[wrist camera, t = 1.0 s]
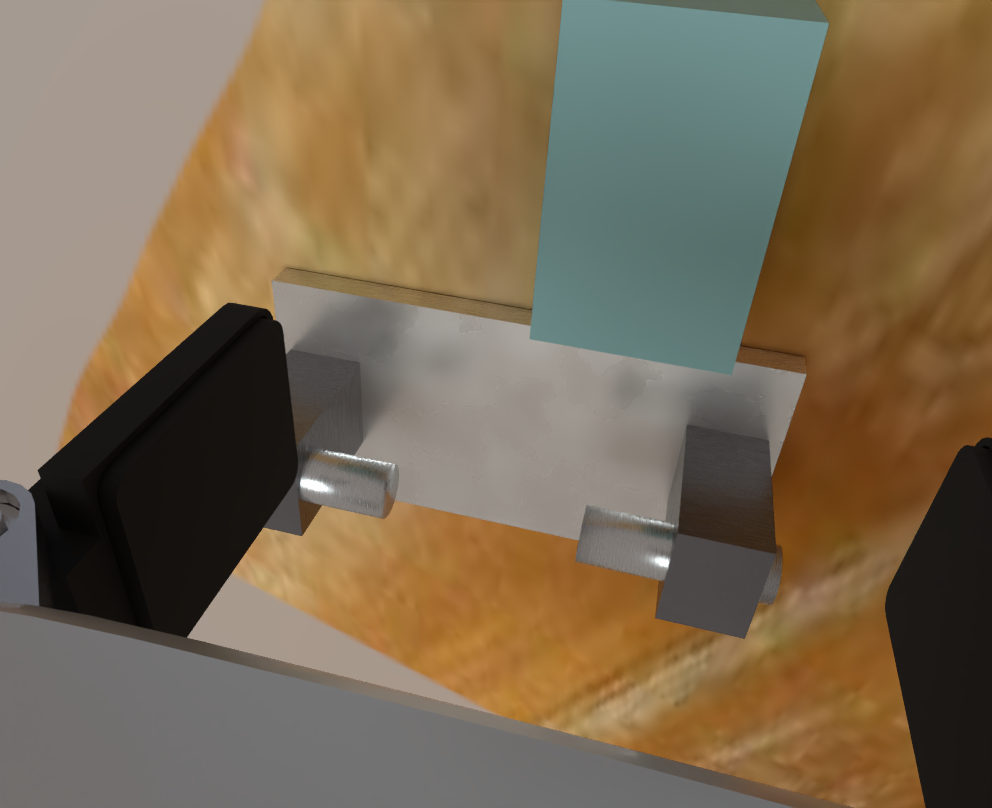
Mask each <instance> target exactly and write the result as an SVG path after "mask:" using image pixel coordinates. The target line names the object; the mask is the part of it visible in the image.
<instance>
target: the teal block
mask: <svg viewBox="0 0 992 808" xmlns="http://www.w3.org/2000/svg"><path fill="white" fill-rule="evenodd" d="M828 26H829V22H828V20H827V19H826V17H825V16H824V14H823V12H822V11H821V9H820V7H819V6H818V4H817V3H816V1H815V0H563V3H562V13H561V23H560V33H559V44H558V54H557V64H556V74H555V84H554V94H553V105H552V115H551V125H550V135H549V145H548V156H547V166H546V176H545V186H544V196H543V206H542V217H541V227H540V237H539V247H538V257H537V267H536V278H535V288H534V298H533V308H532V318H531V329H530V339H531V340H537V341H543V342H548V343H554V344H559V345H565V346H571V347H576V348H582V349H587V350H593V351H599V352H604V353H610V354H616V355H621V356H627V357H632V358H638V359H644V360H649V361H655V362H660V363H666V364H672V365H677V366H683V367H688V368H694V369H700V370H705V371H711V372H717V373H722V374H728V375H732V372H733V369H734V365H735V361H736V358H737V354H738V351H739V347H740V343H741V340H742V336H743V333H744V329H745V325H746V322H747V318H748V314H749V311H750V307H751V304H752V300H753V296H754V293H755V289H756V286H757V282H758V278H759V275H760V271H761V268H762V264H763V260H764V257H765V253H766V249H767V246H768V242H769V239H770V235H771V231H772V228H773V224H774V221H775V217H776V213H777V210H778V206H779V203H780V199H781V195H782V192H783V188H784V185H785V181H786V177H787V174H788V170H789V166H790V163H791V159H792V156H793V152H794V148H795V145H796V141H797V138H798V134H799V130H800V127H801V123H802V120H803V116H804V112H805V109H806V105H807V101H808V98H809V94H810V91H811V87H812V83H813V80H814V76H815V73H816V69H817V65H818V62H819V58H820V55H821V51H822V47H823V44H824V40H825V37H826V33H827V29H828Z"/></svg>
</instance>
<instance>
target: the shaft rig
mask: <svg viewBox="0 0 992 808" xmlns="http://www.w3.org/2000/svg"><path fill="white" fill-rule="evenodd" d="M272 287H273V296H274V304H275V313H276V321H278V322H280V323H281V325H282V328H283V333H284V342H285V350H286V359H287V368H288V377H289V386H290V395H291V403H292V412H293V421H294V430H295V439H296V448H297V456H298V471H297V475H296V479H295V481H294V483H293V485H292V487H291V488H290V490H289V491H288V493H287V494H286V496H285V497H284V499H283V500H282V501H281V503H280V504H279V506H278V507H277V509H276V510H275V511H274V513H273V514H272V516H271V517H270V519H269V520H268V522H267V523H266V524H265V526H264V527H265V528H269V529H273V530H278V531H282V532H286V533H291V534H295V535H299V536H303V534H304V533H305V531H306V529H307V528H308V526H309V525H310V523H311V522H312V520H313V519H314V517H315V516H316V514H317V512H318V511H319V509H320V508H321V506H322V505H323V506H328V507H332V508H337V509H341V510H346V511H350V512H355V513H359V514H364V515H368V516H373V517H377V518H382V519H385V518H386V517H387V516H388V515H389V513H390V511H391V509H392V507H393V504H394V501H395V500H396V501H401V502H406V503H410V504H415V505H419V506H424V507H428V508H433V509H438V510H442V511H447V512H451V513H456V514H460V515H465V516H469V517H474V518H479V519H483V520H488V521H492V522H497V523H501V524H506V525H511V526H515V527H520V528H524V529H529V530H533V531H538V532H542V533H547V534H552V535H556V536H561V537H565V538H570V539H574V540H579V543H578V548H577V554H576V561H575V562H578V563H583V564H587V565H592V566H596V567H600V568H605V569H609V570H614V571H618V572H623V573H627V574H632V575H636V576H641V577H645V578H650V579H654V580H659V586H658V596H657V605H656V615H655V618H657V619H662V620H666V621H670V622H674V623H679V624H683V625H687V626H692V627H696V628H700V629H705V630H709V631H713V632H718V633H722V634H726V635H731V636H735V637H739V638H743V639H745V637H746V634H747V632H748V629H749V626H750V624H751V621H752V618H753V615H754V613H755V610H756V607H757V605H758V603H761V604H766V605H772V603H773V602H774V600H775V598H776V595H777V592H778V588H779V584H780V579H781V572H782V560H783V556H782V548H781V546H780V545H776V541H775V525H774V509H773V493H772V474H773V471H774V469H775V466H776V463H777V460H778V457H779V454H780V451H781V448H782V445H783V442H784V439H785V436H786V433H787V430H788V428H789V425H790V422H791V419H792V416H793V413H794V410H795V407H796V404H797V401H798V398H799V395H800V392H801V390H802V387H803V384H804V381H805V378H806V375H807V373H806V366H805V359H804V357H801V356H795V355H790V354H784V353H778V352H772V351H766V350H761V349H755V348H749V347H743V346H740V347H739V351H738V354H737V358H736V361H735V365H734V369H733V372H732V375H728V374H722V373H717V372H711V371H705V370H700V369H694V368H688V367H683V366H677V365H672V364H666V363H660V362H655V361H649V360H644V359H638V358H632V357H627V356H621V355H616V354H610V353H604V352H599V351H593V350H587V349H582V348H576V347H571V346H565V345H559V344H554V343H548V342H543V341H537V340H531V339H530V329H531V318H532V310H528V309H522V308H516V307H510V306H505V305H499V304H493V303H487V302H481V301H476V300H470V299H464V298H458V297H452V296H446V295H441V294H435V293H429V292H423V291H417V290H412V289H406V288H400V287H394V286H388V285H382V284H377V283H371V282H365V281H359V280H353V279H348V278H342V277H336V276H330V275H324V274H319V273H313V272H307V271H301V270H295V269H289V268H285V269H284V270H283V271H282V272H281V273H280V274H279V275H277V276H276V277H275V278H274V279H273V280H272Z"/></svg>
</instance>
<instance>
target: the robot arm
mask: <svg viewBox="0 0 992 808" xmlns="http://www.w3.org/2000/svg"><path fill="white" fill-rule="evenodd" d="M297 471H298V456H297V448H296V439H295V430H294V421H293V412H292V403H291V395H290V386H289V377H288V368H287V359H286V350H285V342H284V333H283V328H282V325H281V323H280V322H278V321H275V320H273V317H272V315H271V313H270V311H268V310H267V309H264V308H258V307H253V306H247V305H241V304H236V303H227V304H226V305H224V306H223V307H222V308H220V309H219V310H218V311H217V312H216V313H215V314H214V315H212V316H211V317H210V318H209V319H208V320H207V321H206V322H205V323H203V324H202V325H201V326H200V327H199V328H198V329H197V330H196V331H194V332H193V333H192V334H191V335H190V336H189V337H188V338H186V339H185V340H184V341H183V342H182V343H181V344H180V345H179V346H177V347H176V348H175V349H174V350H173V351H172V352H171V353H170V354H168V355H167V356H166V357H165V358H164V359H163V360H162V361H160V362H159V363H158V364H157V365H156V366H155V367H154V368H153V369H151V370H150V371H149V372H148V373H147V374H146V375H145V376H144V377H142V378H141V379H140V380H139V381H138V382H137V383H136V384H134V385H133V386H132V387H131V388H130V389H129V390H128V391H127V392H125V393H124V394H123V395H122V396H121V397H120V398H119V399H118V400H116V401H115V402H114V403H113V404H112V405H111V406H110V407H108V408H107V409H106V410H105V411H104V412H103V413H102V414H101V415H99V416H98V417H97V418H96V419H95V420H94V421H93V422H92V423H90V424H89V425H88V426H87V427H86V428H85V429H84V430H82V431H81V432H80V433H79V434H78V435H77V436H76V437H75V438H73V439H72V440H71V441H70V442H69V443H68V444H67V445H66V446H64V447H63V448H62V449H61V450H60V451H59V452H58V453H56V454H55V455H54V456H53V457H52V458H51V459H50V460H49V461H48V462H46V463H45V464H44V465H43V466H42V467H41V468H40V469H39V470H38V472H39V475H40V477H41V479H40V480H39V481H38V482H37V483H35V484H34V485H33V486H32V487H31V488H30V489H29V490H27V489H25V488H24V487H23V486H22V485H19V484H16V483H13V482H10V481H7V480H0V808H853V807H850V806H846V805H842V804H838V803H835V802H831V801H827V800H823V799H819V798H815V797H812V796H808V795H804V794H800V793H796V792H792V791H788V790H785V789H781V788H777V787H773V786H769V785H765V784H762V783H758V782H754V781H750V780H746V779H742V778H738V777H735V776H731V775H727V774H723V773H719V772H715V771H712V770H708V769H704V768H700V767H696V766H692V765H688V764H685V763H681V762H677V761H673V760H669V759H665V758H662V757H658V756H654V755H650V754H646V753H642V752H638V751H635V750H631V749H627V748H623V747H619V746H615V745H611V744H607V743H603V742H599V741H596V740H592V739H588V738H584V737H580V736H576V735H572V734H568V733H564V732H560V731H556V730H553V729H549V728H545V727H541V726H537V725H533V724H529V723H525V722H521V721H517V720H513V719H509V718H506V717H502V716H498V715H494V714H490V713H486V712H482V711H478V710H473V709H470V708H466V707H462V706H458V705H454V704H450V703H446V702H442V701H438V700H435V699H431V698H426V697H422V696H418V695H415V694H411V693H407V692H403V691H399V690H395V689H391V688H387V687H383V686H379V685H375V684H371V683H367V682H363V681H359V680H355V679H351V678H347V677H343V676H339V675H335V674H331V673H327V672H323V671H319V670H315V669H311V668H307V667H303V666H298V665H294V664H291V663H287V662H283V661H279V660H275V659H271V658H267V657H263V656H259V655H254V654H251V653H246V652H243V651H239V650H235V649H231V648H226V647H222V646H218V645H214V644H210V643H206V642H202V641H198V640H194V639H190V638H187V636H188V635H189V634H190V632H191V631H192V629H193V628H194V626H195V625H196V623H197V622H198V621H199V619H200V618H201V616H202V615H203V613H204V612H205V611H206V609H207V608H208V606H209V605H210V603H211V602H212V600H213V599H214V598H215V596H216V595H217V593H218V592H219V590H220V589H221V588H222V586H223V584H224V583H225V582H226V580H227V579H228V578H229V576H230V575H231V573H232V572H233V570H234V569H235V567H236V566H237V565H238V563H239V562H240V560H241V559H242V557H243V556H244V555H245V553H246V552H247V550H248V549H249V547H250V546H251V544H252V543H253V542H254V540H255V539H256V537H257V536H258V534H259V533H260V532H261V530H262V529H263V527H264V526H265V524H266V523H267V522H268V520H269V519H270V517H271V516H272V514H273V513H274V511H275V510H276V509H277V507H278V506H279V504H280V503H281V501H282V500H283V499H284V497H285V496H286V494H287V493H288V491H289V490H290V488H291V487H292V485H293V483H294V481H295V479H296V475H297ZM885 612H886V619H887V623H888V628H889V633H890V638H891V643H892V648H893V652H894V657H895V662H896V667H897V672H898V676H899V681H900V686H901V691H902V696H903V701H904V705H905V710H906V715H907V720H908V725H909V730H910V734H911V739H912V744H913V749H914V754H915V758H916V763H917V768H918V773H919V778H920V783H921V787H922V792H923V797H924V802H925V807H926V808H992V438H988V437H987V438H983V439H981V440H980V441H979V442H978V443H977V444H976V446H975V447H974V446H968V445H967V446H964V447H963V448H961V449H960V451H959V452H958V454H957V456H956V457H955V459H954V461H953V463H952V465H951V467H950V469H949V471H948V473H947V475H946V477H945V479H944V481H943V483H942V485H941V487H940V489H939V491H938V493H937V494H936V496H935V498H934V500H933V502H932V504H931V506H930V508H929V510H928V512H927V514H926V516H925V518H924V520H923V522H922V524H921V526H920V528H919V530H918V531H917V533H916V535H915V537H914V539H913V541H912V543H911V545H910V547H909V549H908V551H907V553H906V555H905V557H904V559H903V561H902V563H901V565H900V567H899V569H898V570H897V572H896V574H895V576H894V578H893V580H892V582H891V584H890V586H889V589H888V592H887V596H886V602H885Z"/></svg>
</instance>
